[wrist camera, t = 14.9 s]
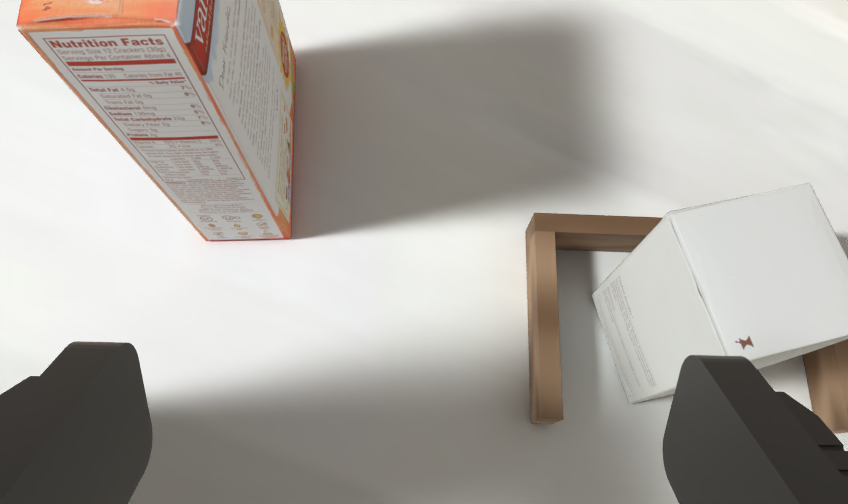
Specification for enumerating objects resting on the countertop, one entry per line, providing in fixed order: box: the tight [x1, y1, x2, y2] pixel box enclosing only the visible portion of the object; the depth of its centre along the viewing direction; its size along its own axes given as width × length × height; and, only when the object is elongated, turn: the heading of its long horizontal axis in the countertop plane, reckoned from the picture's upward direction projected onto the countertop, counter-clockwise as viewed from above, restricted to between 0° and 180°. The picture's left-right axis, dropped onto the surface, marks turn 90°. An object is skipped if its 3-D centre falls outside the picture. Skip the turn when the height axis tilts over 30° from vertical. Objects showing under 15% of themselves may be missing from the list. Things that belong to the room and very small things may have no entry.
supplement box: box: [592, 183, 848, 404], centre depth 33 cm, size 7×7×13 cm
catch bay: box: [526, 213, 848, 433], centre depth 38 cm, size 12×18×3 cm
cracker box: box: [16, 0, 296, 241], centre depth 33 cm, size 14×6×21 cm, turn 2°
